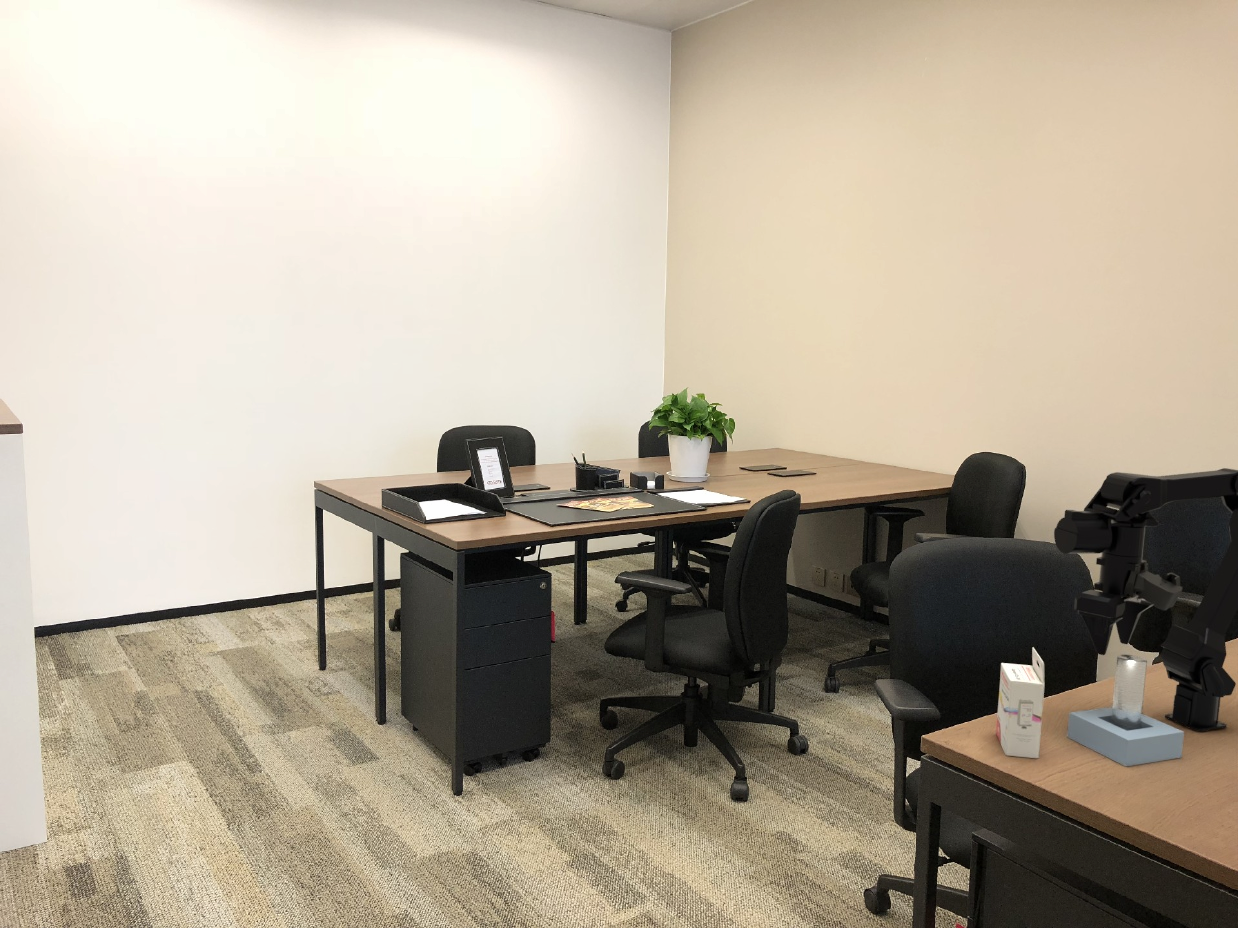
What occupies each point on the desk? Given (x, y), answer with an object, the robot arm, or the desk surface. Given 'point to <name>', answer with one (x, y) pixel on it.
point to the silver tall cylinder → (1128, 692)
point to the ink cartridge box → (1021, 708)
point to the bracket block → (1125, 737)
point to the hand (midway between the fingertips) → (1113, 648)
